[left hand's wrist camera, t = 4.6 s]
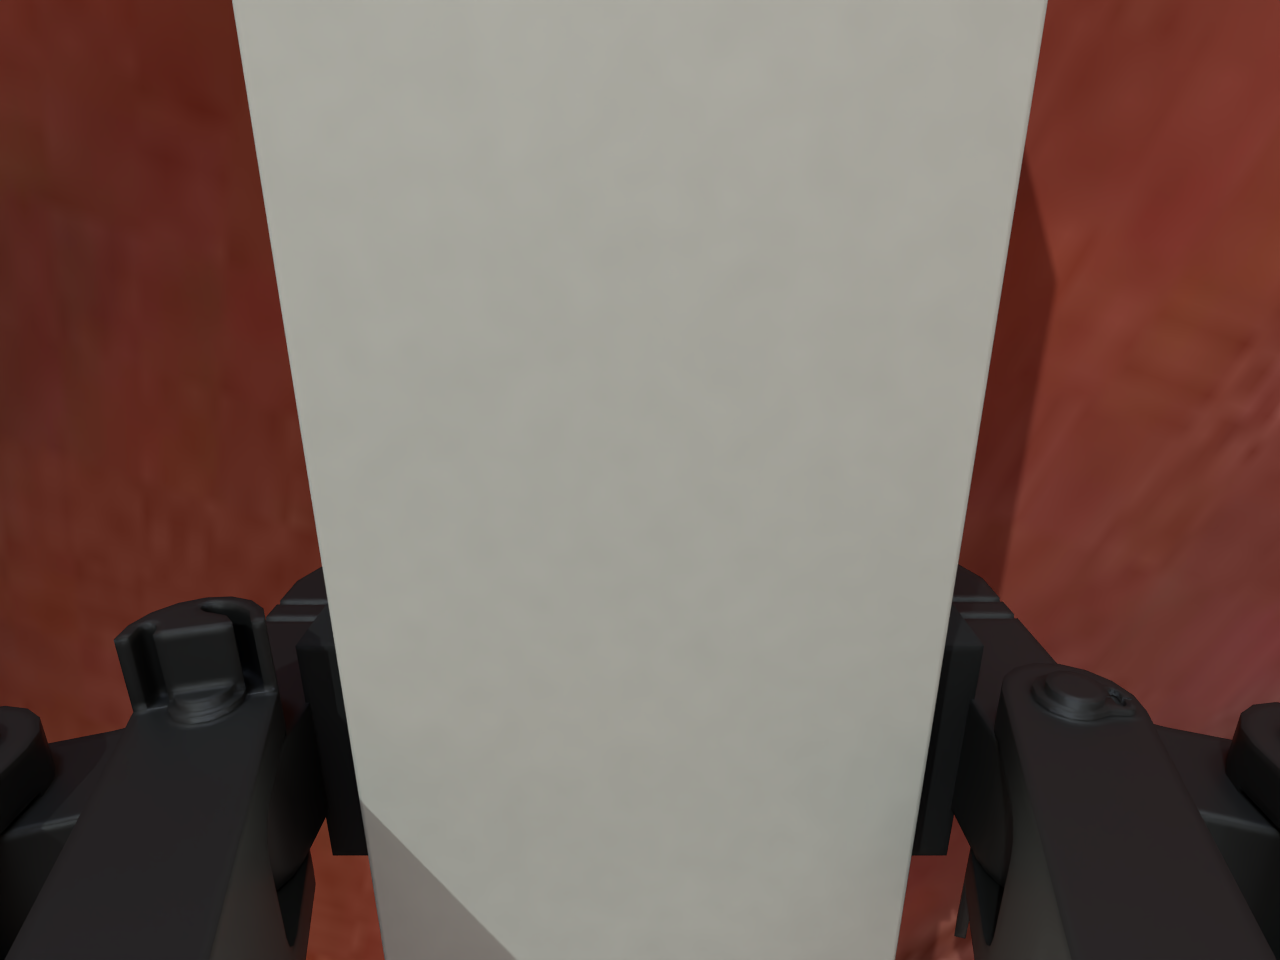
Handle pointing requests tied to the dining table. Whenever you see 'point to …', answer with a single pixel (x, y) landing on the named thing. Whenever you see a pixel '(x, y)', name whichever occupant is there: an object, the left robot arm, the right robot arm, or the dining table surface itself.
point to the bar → (639, 443)
